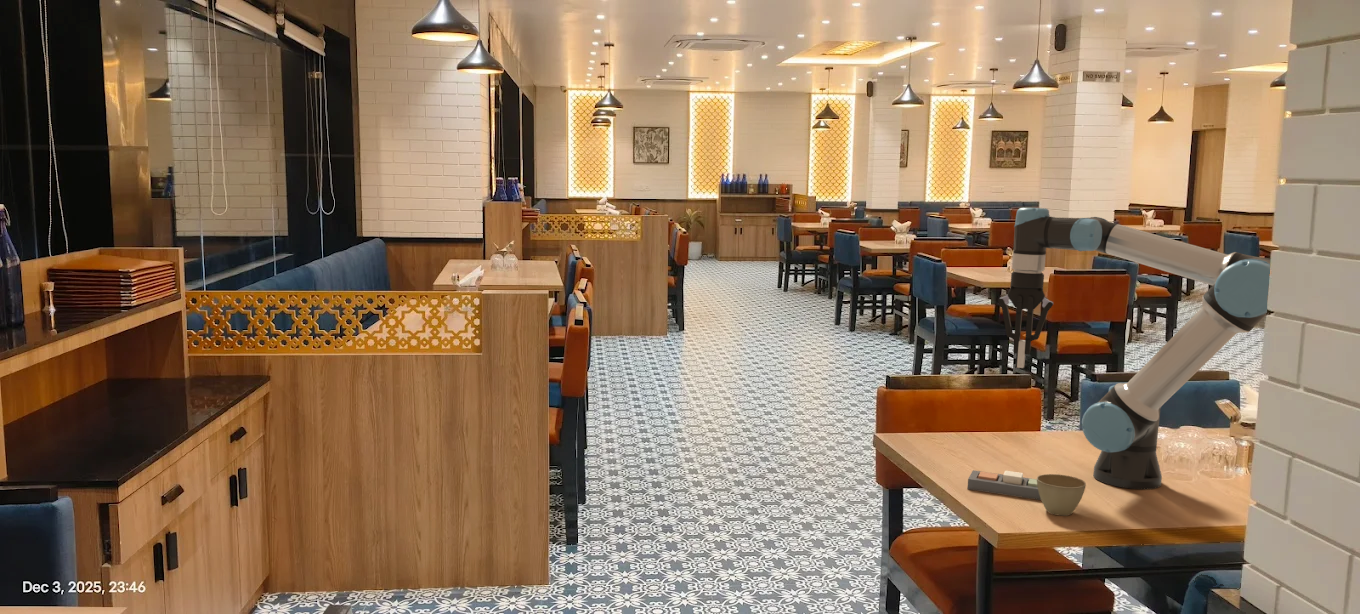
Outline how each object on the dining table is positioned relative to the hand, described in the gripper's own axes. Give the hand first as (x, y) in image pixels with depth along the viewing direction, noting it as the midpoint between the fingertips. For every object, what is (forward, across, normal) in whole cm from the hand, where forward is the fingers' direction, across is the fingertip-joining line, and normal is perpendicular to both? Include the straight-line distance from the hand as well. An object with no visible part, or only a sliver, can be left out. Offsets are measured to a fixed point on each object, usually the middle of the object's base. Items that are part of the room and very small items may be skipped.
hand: (1020, 366), depth 240 cm
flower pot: (+27, -12, +28) cm, 40 cm away
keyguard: (+26, -2, +17) cm, 31 cm away
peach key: (+26, +4, +17) cm, 31 cm away
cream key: (+25, -1, +17) cm, 30 cm away
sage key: (+26, -7, +17) cm, 32 cm away
